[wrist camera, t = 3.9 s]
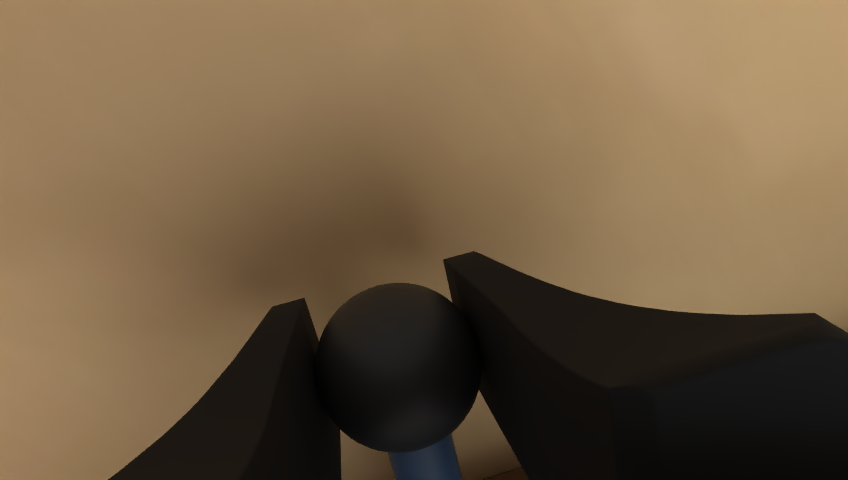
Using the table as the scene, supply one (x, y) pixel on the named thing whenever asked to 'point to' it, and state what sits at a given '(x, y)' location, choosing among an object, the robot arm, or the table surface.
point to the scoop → (400, 376)
